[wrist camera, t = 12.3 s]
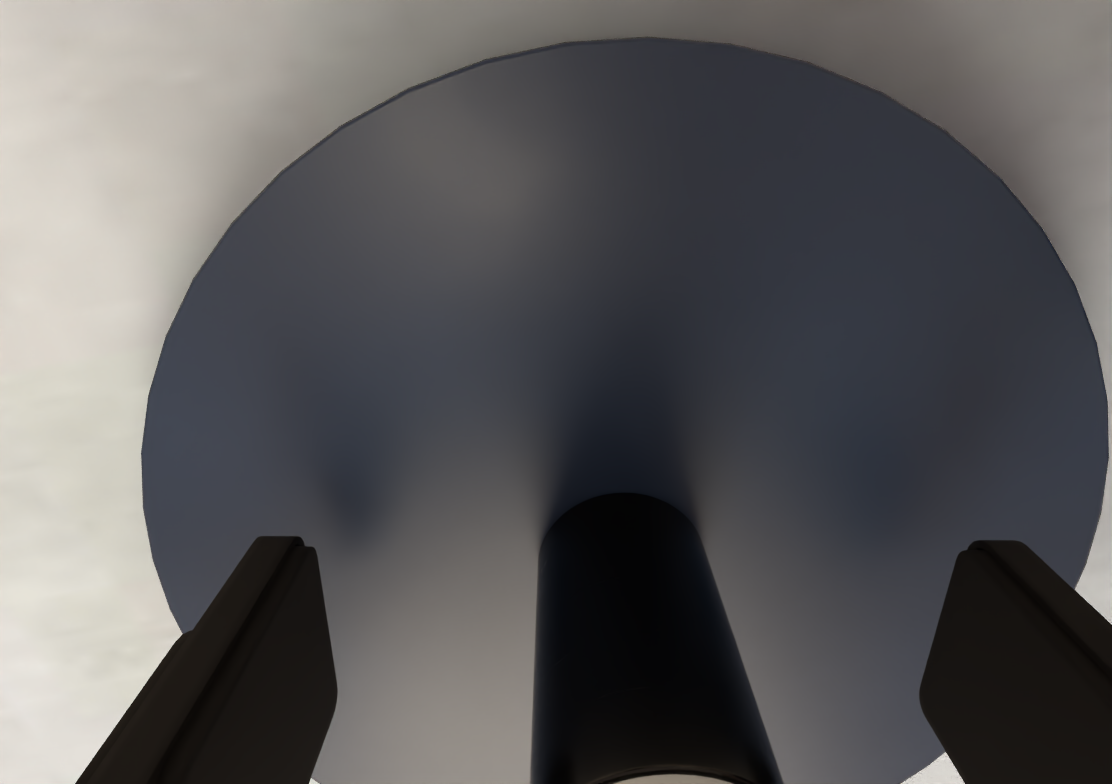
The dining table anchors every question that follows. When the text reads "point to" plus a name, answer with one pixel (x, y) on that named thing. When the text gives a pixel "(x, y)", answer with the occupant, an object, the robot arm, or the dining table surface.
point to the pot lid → (628, 416)
